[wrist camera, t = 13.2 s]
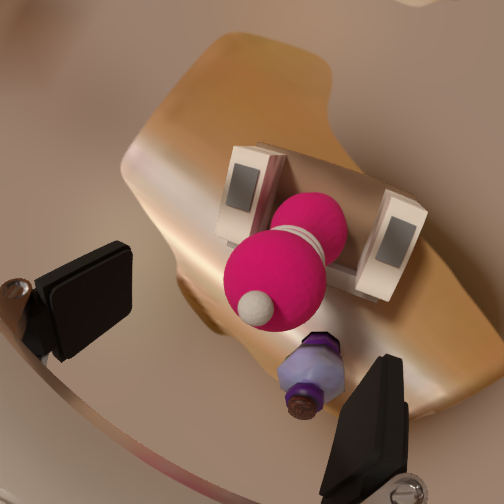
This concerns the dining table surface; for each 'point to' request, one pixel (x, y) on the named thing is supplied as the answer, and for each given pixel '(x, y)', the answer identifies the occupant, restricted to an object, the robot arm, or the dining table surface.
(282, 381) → the potion bottle
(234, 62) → the dining table surface
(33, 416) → the robot arm
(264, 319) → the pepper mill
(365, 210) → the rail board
